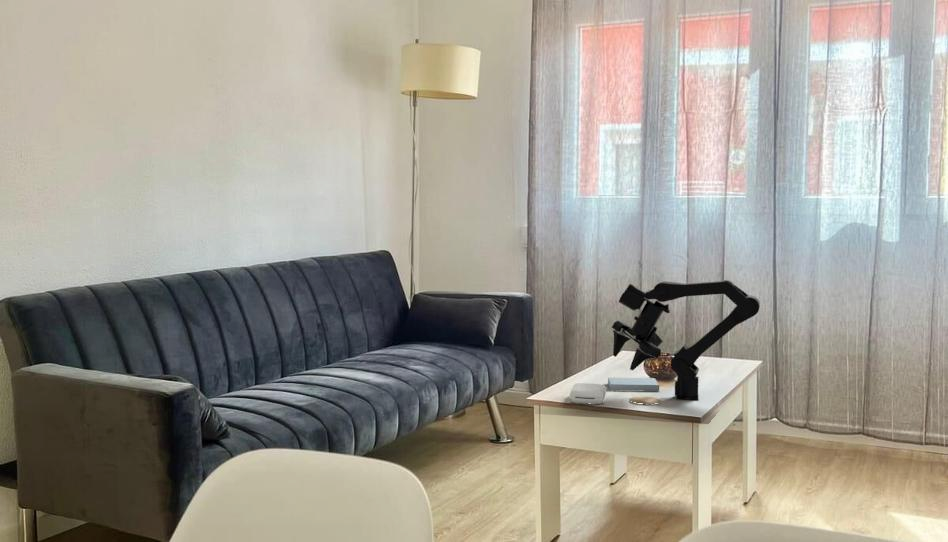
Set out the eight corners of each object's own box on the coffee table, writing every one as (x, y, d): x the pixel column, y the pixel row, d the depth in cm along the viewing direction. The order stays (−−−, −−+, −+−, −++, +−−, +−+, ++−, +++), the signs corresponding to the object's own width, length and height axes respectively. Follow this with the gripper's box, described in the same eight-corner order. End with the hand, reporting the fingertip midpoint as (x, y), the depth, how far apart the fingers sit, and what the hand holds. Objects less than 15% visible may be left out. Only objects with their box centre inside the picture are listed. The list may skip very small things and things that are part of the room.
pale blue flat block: (654, 384, 298) (654, 378, 298) (659, 391, 287) (659, 385, 287) (607, 383, 299) (608, 377, 299) (610, 390, 288) (610, 384, 288)
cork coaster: (661, 399, 276) (661, 397, 276) (660, 405, 267) (660, 403, 267) (631, 397, 278) (631, 395, 278) (628, 404, 269) (628, 402, 269)
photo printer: (606, 383, 278) (604, 391, 266) (606, 397, 278) (603, 406, 266) (572, 381, 280) (568, 390, 268) (572, 395, 280) (568, 404, 268)
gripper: (683, 339, 277) (658, 383, 279) (647, 314, 292) (623, 356, 295) (659, 329, 271) (633, 374, 273) (623, 303, 286) (599, 346, 289)
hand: (622, 362), depth 283 cm, fingers open, 9 cm apart
